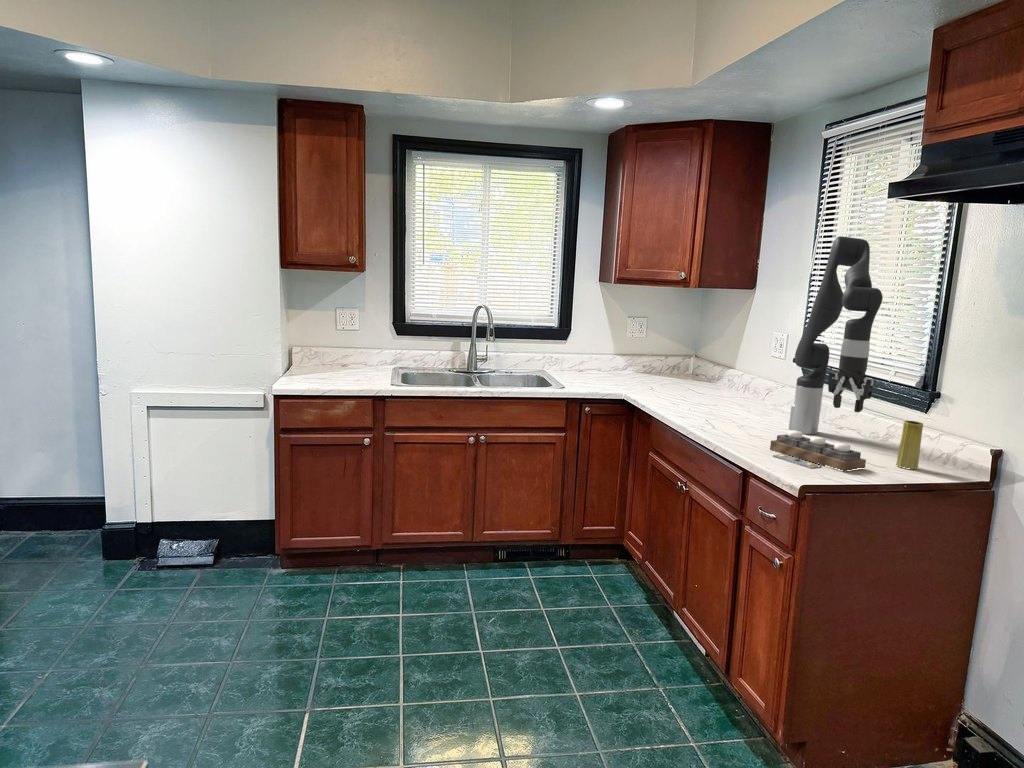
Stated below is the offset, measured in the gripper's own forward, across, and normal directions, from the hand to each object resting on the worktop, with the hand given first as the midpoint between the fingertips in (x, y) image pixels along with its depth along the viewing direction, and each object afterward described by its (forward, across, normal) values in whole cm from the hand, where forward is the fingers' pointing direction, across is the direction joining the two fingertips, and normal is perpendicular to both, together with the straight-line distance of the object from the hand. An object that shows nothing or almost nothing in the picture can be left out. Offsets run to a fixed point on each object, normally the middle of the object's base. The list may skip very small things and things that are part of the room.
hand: (847, 409), depth 208 cm
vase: (+18, -8, -21) cm, 29 cm away
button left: (+13, +17, 0) cm, 21 cm away
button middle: (+13, +8, 0) cm, 15 cm away
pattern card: (+18, +8, +9) cm, 22 cm away
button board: (+18, +8, 0) cm, 20 cm away
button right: (+13, 0, 0) cm, 13 cm away
